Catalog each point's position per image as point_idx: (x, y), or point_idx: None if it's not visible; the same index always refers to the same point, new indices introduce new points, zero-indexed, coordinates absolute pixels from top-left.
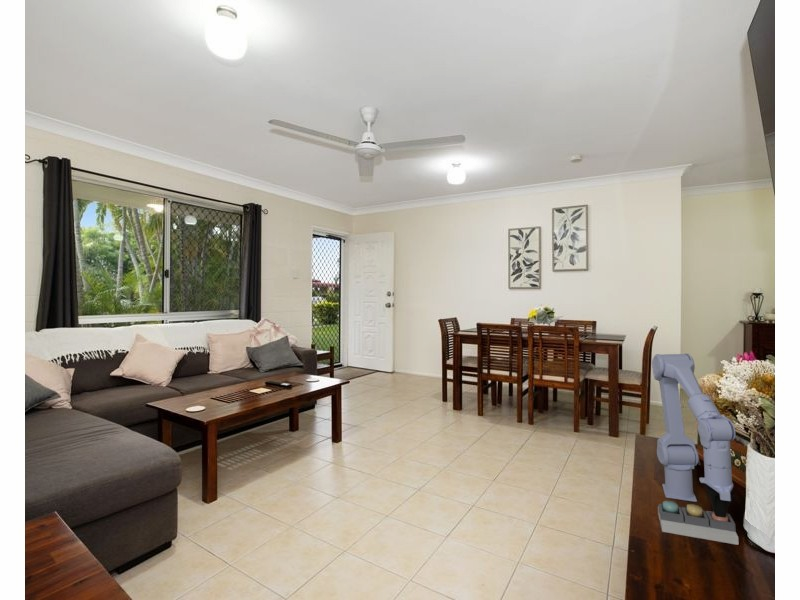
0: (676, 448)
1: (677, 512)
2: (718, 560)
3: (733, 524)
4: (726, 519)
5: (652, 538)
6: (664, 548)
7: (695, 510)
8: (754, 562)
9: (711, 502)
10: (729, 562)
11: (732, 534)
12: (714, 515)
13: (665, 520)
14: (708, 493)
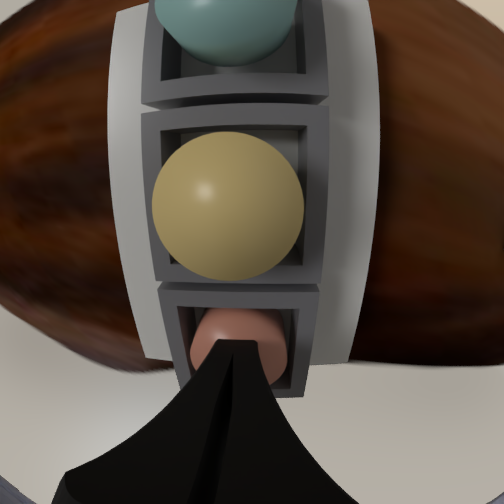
0: None
1: (206, 62)
2: (24, 237)
3: (181, 384)
4: None
5: (73, 16)
6: (25, 69)
7: (155, 210)
8: (75, 337)
9: (259, 396)
10: (32, 268)
11: (155, 344)
12: (224, 333)
13: None
14: (65, 482)
